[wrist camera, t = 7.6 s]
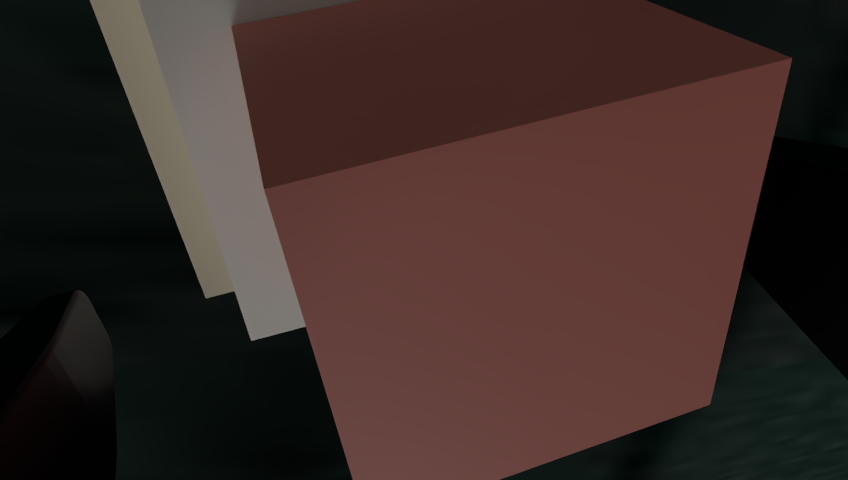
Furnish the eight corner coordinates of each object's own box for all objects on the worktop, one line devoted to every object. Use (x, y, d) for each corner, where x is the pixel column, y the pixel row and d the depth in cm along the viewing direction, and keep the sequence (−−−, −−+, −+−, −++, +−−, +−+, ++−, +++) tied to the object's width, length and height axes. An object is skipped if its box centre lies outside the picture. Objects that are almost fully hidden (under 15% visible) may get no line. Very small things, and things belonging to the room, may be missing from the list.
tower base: (498, -202, 14) (563, -207, 11) (505, 160, 19) (551, 209, 17) (65, -151, 12) (34, -144, 10) (203, 232, 17) (205, 298, 15)
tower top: (521, -127, 12) (604, -115, 9) (519, 190, 16) (577, 254, 13) (137, -79, 10) (122, -49, 8) (241, 255, 14) (251, 341, 12)
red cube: (549, -38, 10) (792, 58, 6) (548, 223, 13) (710, 404, 9) (231, 26, 9) (264, 189, 5) (308, 290, 12) (367, 526, 8)
